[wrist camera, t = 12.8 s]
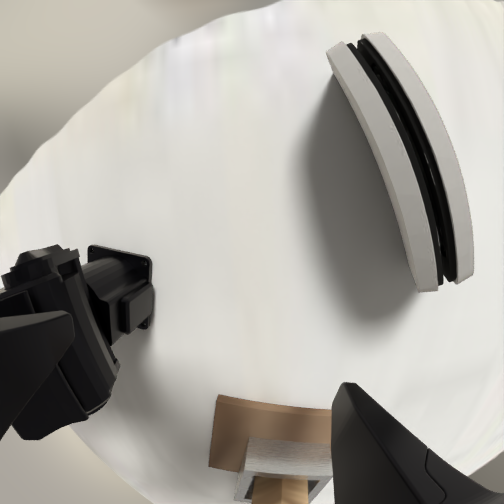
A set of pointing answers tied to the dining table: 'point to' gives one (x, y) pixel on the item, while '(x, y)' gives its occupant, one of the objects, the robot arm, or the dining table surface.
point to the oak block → (279, 491)
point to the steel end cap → (284, 465)
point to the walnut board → (261, 428)
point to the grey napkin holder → (410, 157)
